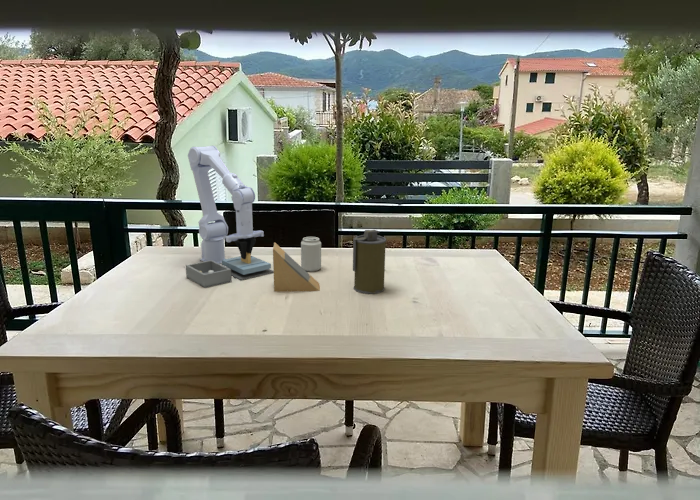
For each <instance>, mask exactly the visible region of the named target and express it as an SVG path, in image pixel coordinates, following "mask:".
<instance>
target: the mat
mask: <svg viewBox="0 0 700 500" xmlns="http://www.w3.org/2000/svg"><path fill="white" fill-rule="evenodd" d="M227 268H228V267H227ZM229 269H230V268H229ZM270 274H271V275H272V274H274V272H273V270H272V269H267V270H262V271H258V272H254V273H249V274H245V275H243V274H241V273H239V272H236V271H234V270H232V269H231V277H232V276H233V278H234V279H236V280H238V281H245V280H250V279H254V278H258V277H262V276H266V275H270Z"/></svg>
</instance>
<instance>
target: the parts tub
mask: <svg viewBox="0 0 700 500" xmlns="http://www.w3.org/2000/svg"><path fill="white" fill-rule="evenodd" d="M185 273H186V274H185V276H186V279H189V280H190V281H192V282H194V283H195V284H197V285H199V286H201V287H203V288H205V289H206V288H210V287H215V286H219V285H223V284H228V283H231V282H232V281H233V280H232V276H231V269H229V268H227V267H226V266H224V265H222V263H220V264H219V263H217V262H215V261H213V260H210V261H205V262H203V261H200V262H196V263H190V264H185Z"/></svg>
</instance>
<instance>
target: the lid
mask: <svg viewBox="0 0 700 500" xmlns="http://www.w3.org/2000/svg"><path fill="white" fill-rule="evenodd" d="M221 265H223V266H225V267H228V268H230V269H232V270H234V271H236V272H239V273H241V274H243V275H245V274H249V273H254V272H258V271H262V270H267V269H270V270H272V264H271V263H269V262H268V261H265V260H263V259H260V258H259V257H255V256H254V255H252V253H251V254H250V253H247V252H246V259H243V258H241V255H240V256H235V257H230V258H225V259H224V260H222V263H221Z"/></svg>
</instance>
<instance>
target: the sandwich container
mask: <svg viewBox="0 0 700 500" xmlns="http://www.w3.org/2000/svg"><path fill="white" fill-rule="evenodd" d="M272 260H273V261H272V263H273V264H272V265H273V266H272V268H273V270H272V271H273V272H274V273H273V292H277V293H278V292H280V293H281V292H282V293H285V292H288V293H289V292H291V293H292V292H294V293H295V292H320V291H321V285H320V283H319V281H317V280H316V279H315V278H314V277H313V276H312V275H311V274H310V273H309V272H308V271H305V270H304V269H303V268H302V267H301V264H299V263H298V262H296V260H294V259H293V258H292V257H291V256H290V254H288V253H287V252H286V251H285V250H284V249H283V248H282V247H280V245H279V244H277V243H276V242H273V247H272Z"/></svg>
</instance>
